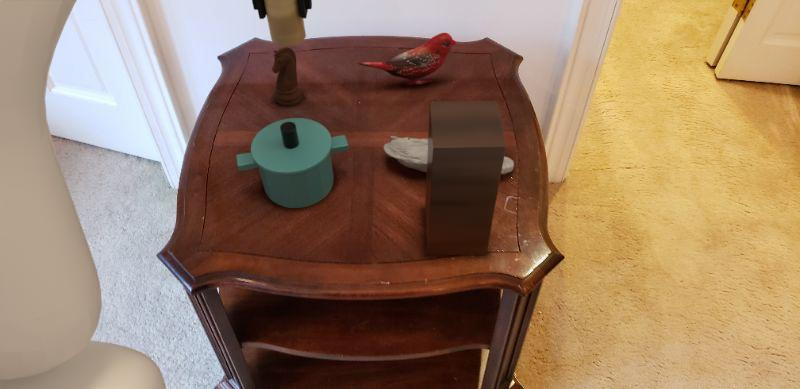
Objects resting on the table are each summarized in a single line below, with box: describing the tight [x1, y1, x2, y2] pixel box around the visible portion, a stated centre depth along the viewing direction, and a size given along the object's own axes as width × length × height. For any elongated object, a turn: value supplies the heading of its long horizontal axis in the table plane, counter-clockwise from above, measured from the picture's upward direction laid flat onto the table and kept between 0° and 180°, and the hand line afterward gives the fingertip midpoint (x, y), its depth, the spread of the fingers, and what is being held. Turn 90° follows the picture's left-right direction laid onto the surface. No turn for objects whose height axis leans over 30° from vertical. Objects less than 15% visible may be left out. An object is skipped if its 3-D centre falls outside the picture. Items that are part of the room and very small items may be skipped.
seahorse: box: [383, 135, 515, 176], centre depth 85 cm, size 5×12×20 cm
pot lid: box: [250, 117, 332, 175], centre depth 78 cm, size 11×11×4 cm
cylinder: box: [263, 0, 307, 47], centre depth 74 cm, size 5×5×9 cm
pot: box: [236, 134, 349, 209], centre depth 82 cm, size 10×16×8 cm, turn 106°
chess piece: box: [271, 46, 303, 107], centre depth 95 cm, size 5×5×10 cm
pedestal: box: [424, 100, 507, 256], centre depth 70 cm, size 8×8×20 cm
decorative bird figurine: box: [356, 32, 458, 86], centre depth 97 cm, size 3×18×10 cm, turn 102°
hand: (284, 12), depth 75 cm, fingers closed on cylinder, 4 cm apart
